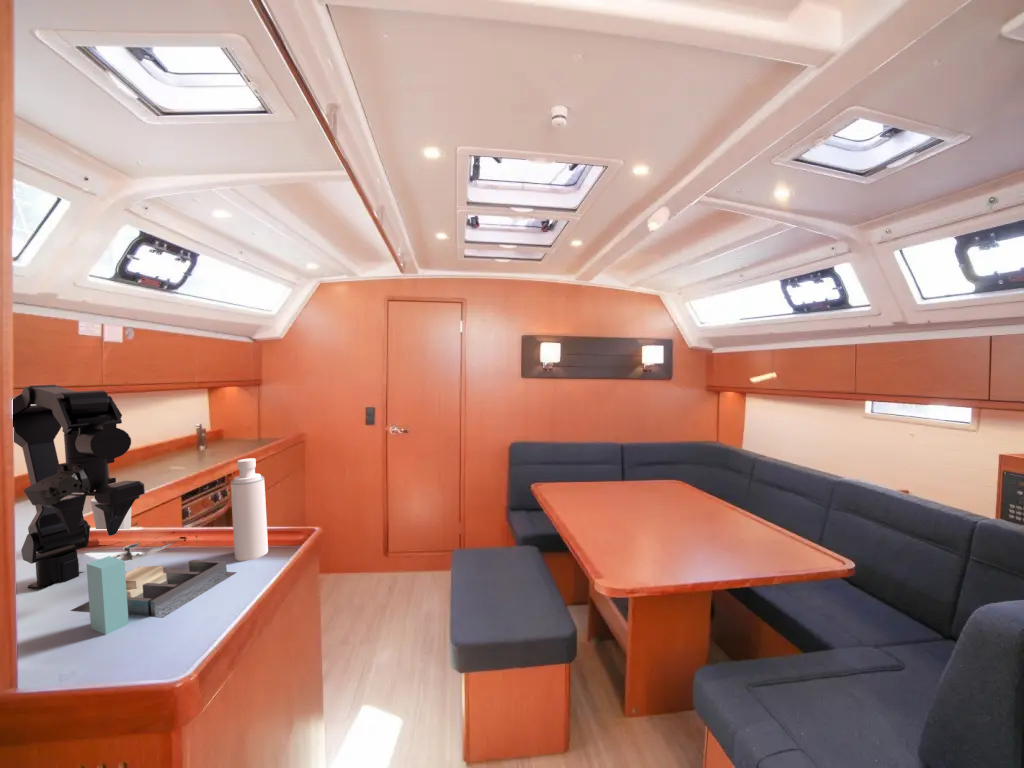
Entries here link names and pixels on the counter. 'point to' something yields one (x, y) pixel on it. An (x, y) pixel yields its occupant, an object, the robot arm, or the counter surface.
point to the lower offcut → (139, 590)
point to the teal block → (107, 594)
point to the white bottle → (249, 512)
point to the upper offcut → (142, 576)
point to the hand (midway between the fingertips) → (92, 534)
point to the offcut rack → (174, 589)
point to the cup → (100, 517)
